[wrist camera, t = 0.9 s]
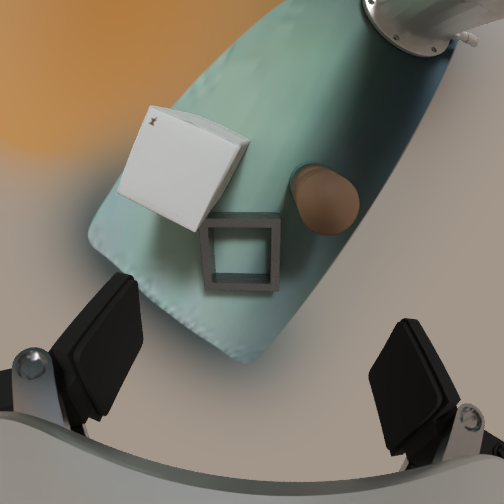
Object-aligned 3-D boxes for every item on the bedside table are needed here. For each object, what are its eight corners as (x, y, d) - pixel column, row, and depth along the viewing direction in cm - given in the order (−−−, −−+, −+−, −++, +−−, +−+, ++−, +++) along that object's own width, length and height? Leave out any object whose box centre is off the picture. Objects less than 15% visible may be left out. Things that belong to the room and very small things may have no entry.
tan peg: (333, 163, 29) (361, 176, 20) (331, 205, 31) (356, 235, 22) (289, 161, 29) (299, 172, 20) (289, 204, 31) (297, 234, 22)
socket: (280, 212, 32) (281, 218, 29) (278, 280, 35) (278, 291, 33) (203, 212, 32) (198, 218, 30) (208, 279, 36) (204, 289, 34)
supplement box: (167, 169, 30) (112, 192, 19) (195, 112, 27) (149, 101, 16) (222, 197, 31) (194, 236, 20) (253, 140, 28) (242, 144, 17)
